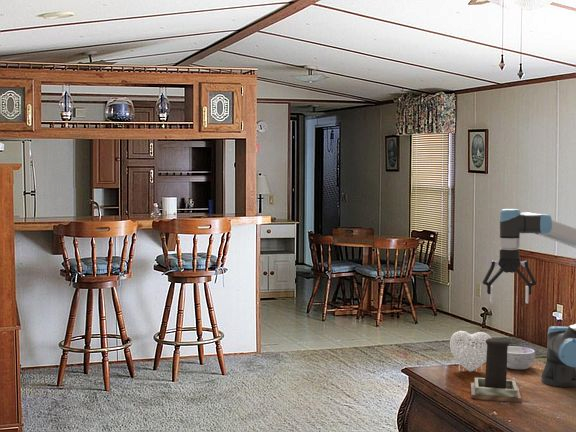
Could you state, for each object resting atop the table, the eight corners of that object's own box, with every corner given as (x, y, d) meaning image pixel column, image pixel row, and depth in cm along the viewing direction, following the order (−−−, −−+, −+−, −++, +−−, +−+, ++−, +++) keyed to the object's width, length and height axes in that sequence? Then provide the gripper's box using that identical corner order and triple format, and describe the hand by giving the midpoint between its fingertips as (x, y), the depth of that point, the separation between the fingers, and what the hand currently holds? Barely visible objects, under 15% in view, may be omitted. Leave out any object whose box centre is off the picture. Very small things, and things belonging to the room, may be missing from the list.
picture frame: (517, 389, 336) (518, 379, 336) (520, 402, 319) (521, 391, 318) (470, 386, 340) (471, 376, 339) (471, 398, 322) (471, 388, 322)
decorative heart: (448, 373, 360) (450, 332, 359) (448, 367, 371) (449, 328, 370) (492, 375, 358) (494, 335, 356) (490, 369, 368) (492, 330, 367)
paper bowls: (491, 364, 378) (492, 346, 377) (519, 362, 384) (520, 344, 383) (513, 372, 364) (514, 354, 364) (542, 370, 370) (542, 352, 370)
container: (505, 387, 333) (507, 336, 332) (508, 393, 324) (510, 341, 323) (482, 386, 334) (484, 335, 333) (485, 392, 325) (487, 340, 324)
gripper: (541, 247, 336) (540, 301, 337) (476, 247, 339) (475, 300, 340) (544, 249, 328) (543, 304, 329) (477, 249, 332) (477, 303, 333)
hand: (509, 302), depth 335 cm, fingers open, 13 cm apart
